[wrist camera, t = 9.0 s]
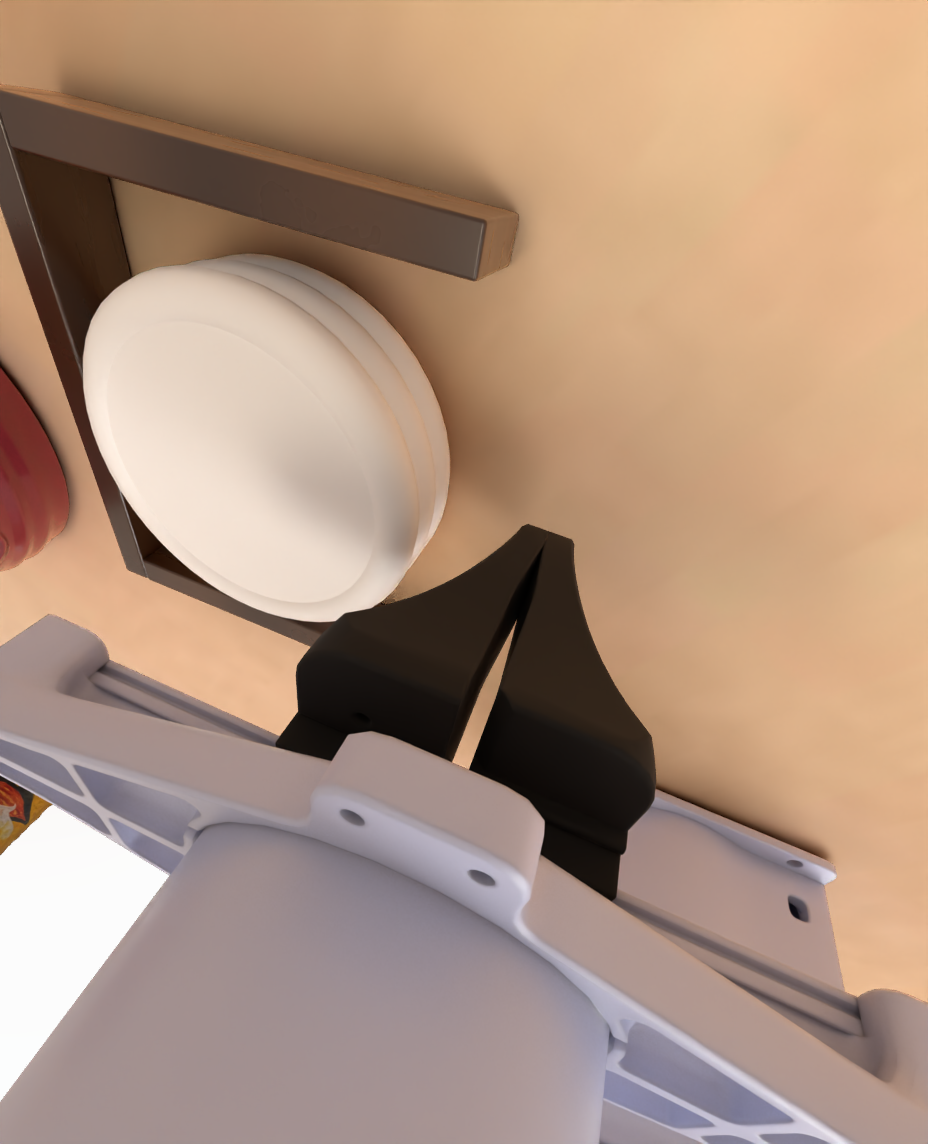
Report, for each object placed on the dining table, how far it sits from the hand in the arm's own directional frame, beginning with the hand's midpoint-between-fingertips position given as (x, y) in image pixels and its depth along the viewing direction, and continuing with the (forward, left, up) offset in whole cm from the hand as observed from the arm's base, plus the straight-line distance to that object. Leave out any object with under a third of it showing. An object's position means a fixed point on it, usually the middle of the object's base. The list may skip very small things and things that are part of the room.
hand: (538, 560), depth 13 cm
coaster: (+8, 0, -2) cm, 8 cm away
